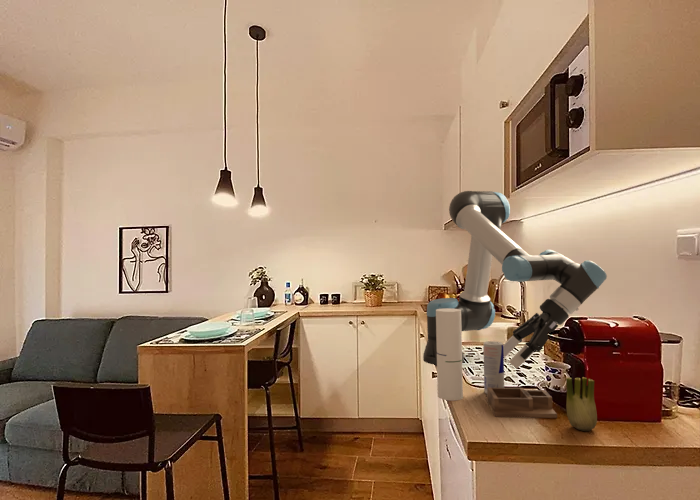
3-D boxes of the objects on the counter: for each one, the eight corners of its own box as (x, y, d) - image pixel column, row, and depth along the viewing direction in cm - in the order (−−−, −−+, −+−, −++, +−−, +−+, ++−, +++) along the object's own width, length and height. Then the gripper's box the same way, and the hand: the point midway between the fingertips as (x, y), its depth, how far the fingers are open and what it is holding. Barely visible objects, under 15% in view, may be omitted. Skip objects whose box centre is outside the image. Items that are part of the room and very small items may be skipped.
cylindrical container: (444, 391, 136) (443, 307, 136) (467, 395, 132) (465, 309, 132) (433, 397, 131) (431, 310, 131) (456, 402, 126) (454, 312, 126)
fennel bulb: (564, 427, 107) (563, 376, 107) (575, 422, 110) (574, 373, 110) (589, 435, 102) (588, 382, 102) (600, 429, 105) (599, 378, 105)
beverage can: (506, 397, 129) (504, 344, 129) (485, 396, 130) (484, 344, 130) (502, 391, 135) (501, 340, 135) (483, 390, 136) (482, 340, 136)
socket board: (485, 399, 127) (485, 385, 127) (541, 400, 126) (540, 386, 126) (495, 416, 115) (494, 400, 115) (557, 417, 113) (556, 401, 113)
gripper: (587, 322, 117) (528, 380, 118) (553, 310, 142) (505, 358, 143) (565, 302, 118) (507, 360, 119) (535, 293, 142) (488, 341, 144)
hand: (506, 359), depth 131 cm, fingers open, 13 cm apart
